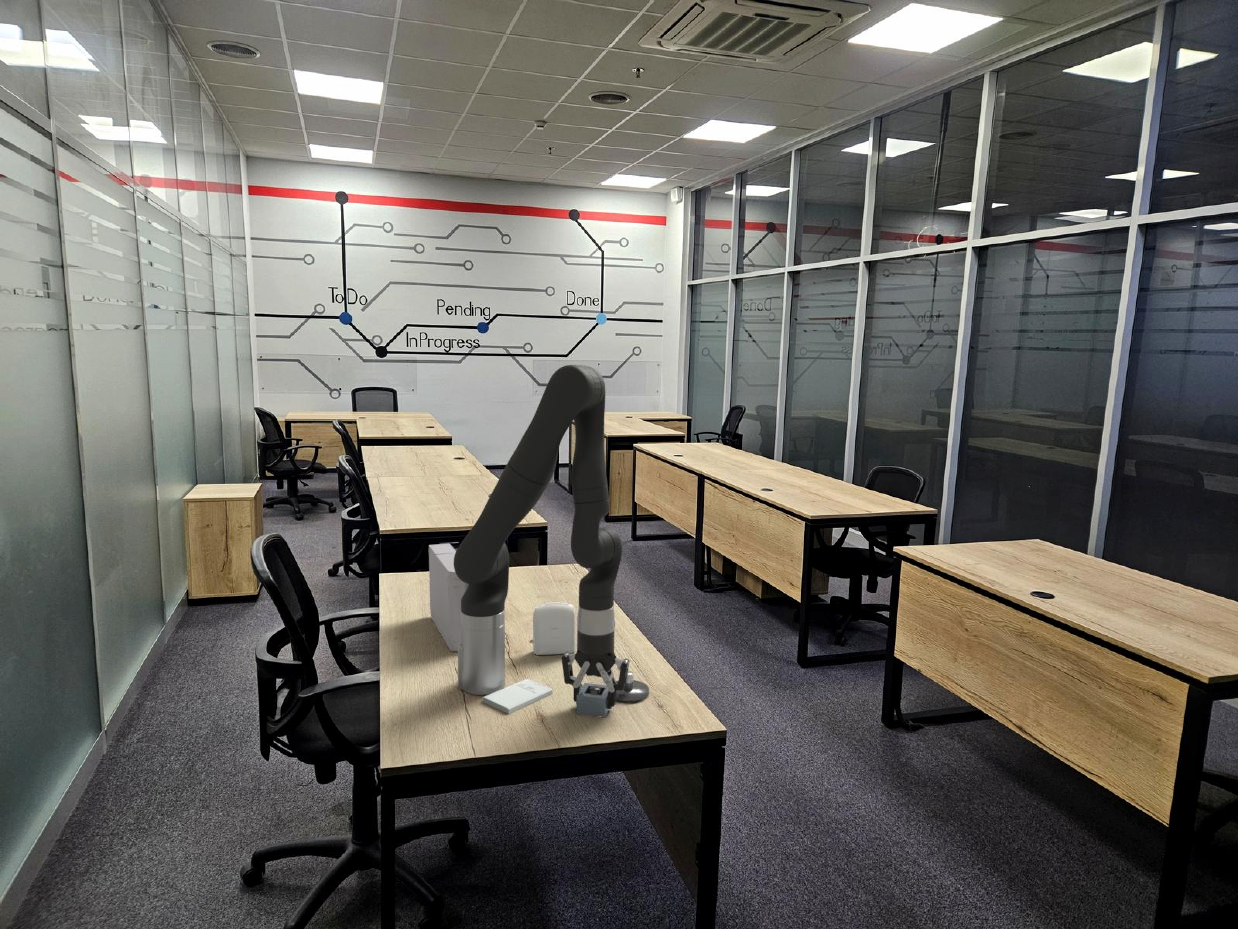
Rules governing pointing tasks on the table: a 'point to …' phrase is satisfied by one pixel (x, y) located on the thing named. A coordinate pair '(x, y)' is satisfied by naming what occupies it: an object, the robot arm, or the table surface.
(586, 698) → the hollow square housing
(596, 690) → the stand rod
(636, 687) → the hub
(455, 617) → the game console
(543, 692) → the external hard drive
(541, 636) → the photo printer
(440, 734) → the table surface
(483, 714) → the table surface
